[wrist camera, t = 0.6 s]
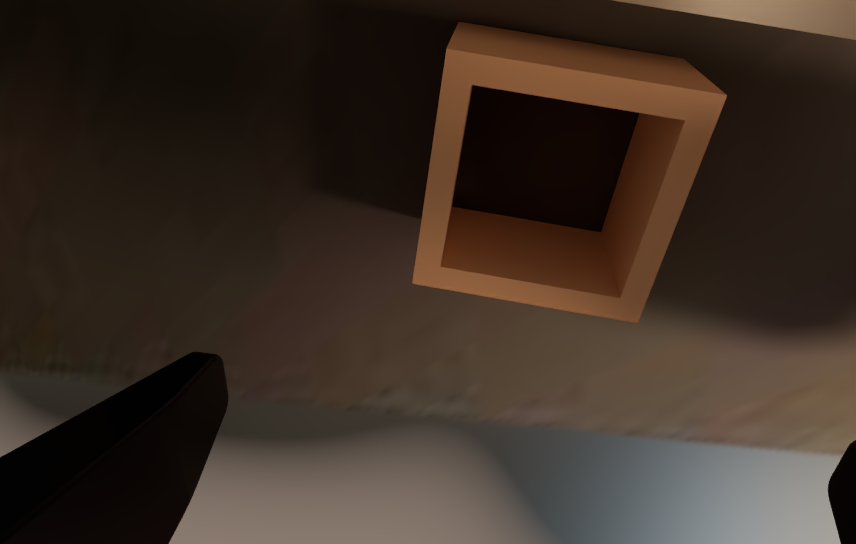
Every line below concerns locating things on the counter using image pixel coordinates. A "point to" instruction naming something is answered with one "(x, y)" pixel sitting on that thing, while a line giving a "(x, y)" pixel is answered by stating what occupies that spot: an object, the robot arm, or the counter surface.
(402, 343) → the counter surface
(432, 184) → the open square box
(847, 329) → the counter surface
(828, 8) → the duct base
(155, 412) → the robot arm
